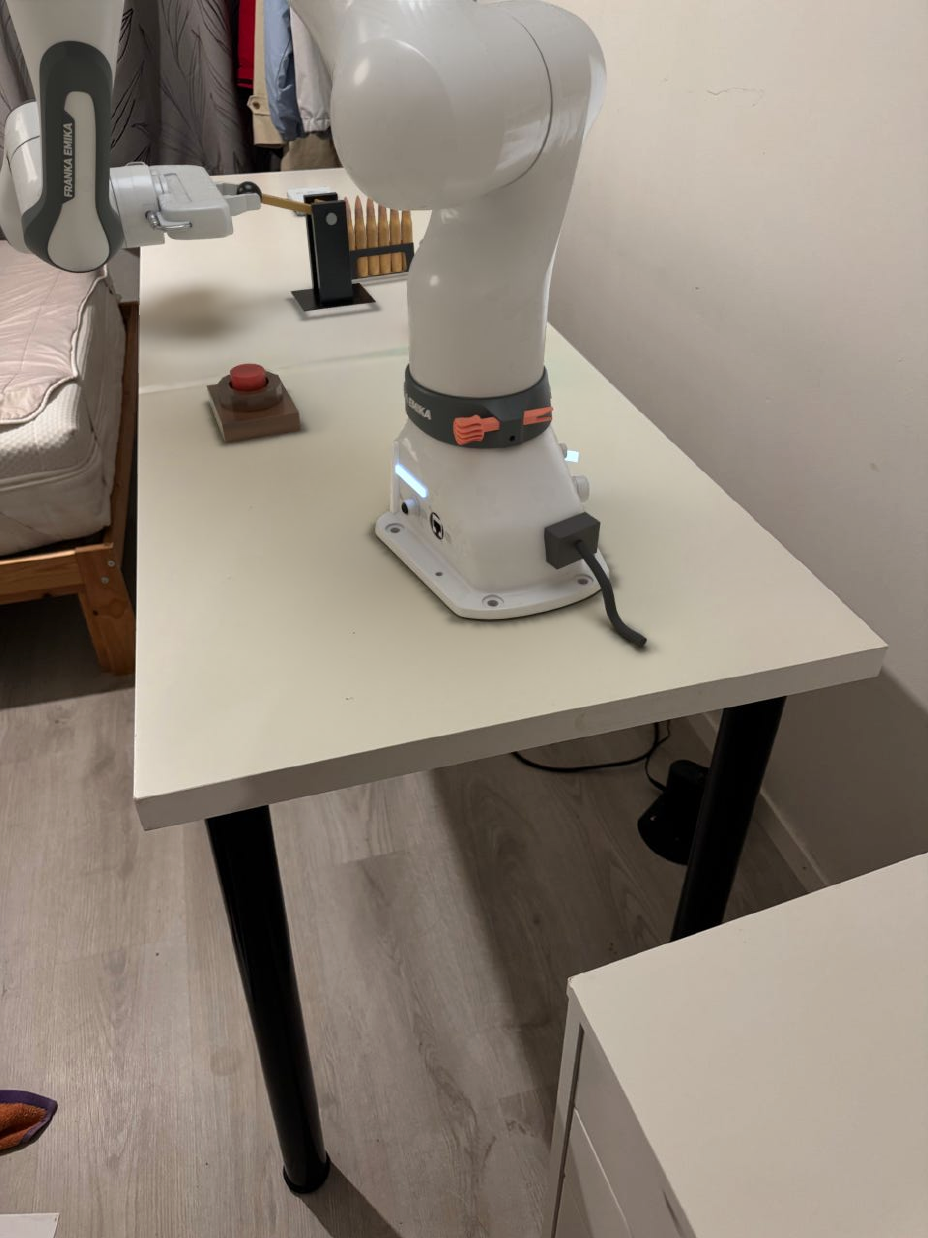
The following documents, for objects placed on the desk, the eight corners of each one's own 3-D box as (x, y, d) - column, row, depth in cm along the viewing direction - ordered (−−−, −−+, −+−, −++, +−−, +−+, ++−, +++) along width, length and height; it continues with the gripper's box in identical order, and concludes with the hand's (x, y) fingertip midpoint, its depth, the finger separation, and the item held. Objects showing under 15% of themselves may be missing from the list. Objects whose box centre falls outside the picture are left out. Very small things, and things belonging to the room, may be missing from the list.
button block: (301, 430, 95) (296, 395, 93) (225, 443, 93) (219, 408, 91) (280, 392, 103) (276, 359, 100) (209, 403, 100) (203, 369, 98)
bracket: (305, 319, 120) (293, 209, 111) (291, 299, 126) (279, 193, 117) (376, 309, 123) (370, 202, 114) (360, 290, 129) (353, 187, 120)
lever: (236, 209, 111) (240, 181, 109) (232, 202, 113) (235, 175, 112) (336, 231, 117) (341, 205, 115) (330, 224, 119) (335, 199, 118)
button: (269, 390, 95) (267, 374, 94) (235, 395, 94) (233, 379, 93) (262, 376, 97) (260, 361, 96) (229, 381, 96) (226, 366, 95)
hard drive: (298, 216, 158) (287, 197, 167) (343, 212, 160) (330, 194, 169) (297, 206, 157) (285, 188, 166) (343, 202, 158) (329, 185, 168)
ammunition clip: (347, 287, 130) (341, 198, 122) (343, 283, 131) (336, 195, 123) (416, 277, 133) (414, 190, 125) (411, 274, 134) (409, 187, 127)
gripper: (145, 200, 99) (269, 188, 103) (128, 158, 114) (237, 149, 118) (158, 259, 103) (276, 245, 107) (139, 211, 118) (244, 201, 122)
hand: (255, 195), depth 112 cm, fingers closed on lever, 3 cm apart
